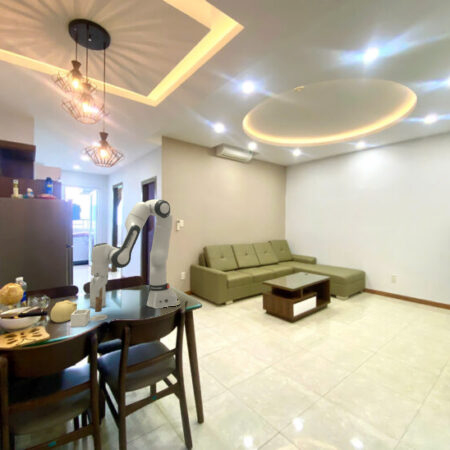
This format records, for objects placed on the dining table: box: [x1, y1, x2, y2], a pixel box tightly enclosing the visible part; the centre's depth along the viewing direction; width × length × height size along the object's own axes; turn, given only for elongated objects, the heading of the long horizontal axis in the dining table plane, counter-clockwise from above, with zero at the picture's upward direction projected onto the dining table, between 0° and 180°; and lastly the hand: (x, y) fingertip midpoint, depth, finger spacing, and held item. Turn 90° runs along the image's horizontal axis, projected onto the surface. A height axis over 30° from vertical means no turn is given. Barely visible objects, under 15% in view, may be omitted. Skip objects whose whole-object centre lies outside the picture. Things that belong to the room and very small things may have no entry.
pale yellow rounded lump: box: [50, 299, 78, 324], centre depth 135 cm, size 12×12×11 cm
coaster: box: [90, 314, 108, 322], centre depth 139 cm, size 9×9×1 cm
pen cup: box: [70, 309, 91, 328], centre depth 130 cm, size 7×7×7 cm
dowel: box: [94, 287, 103, 313], centre depth 138 cm, size 3×3×15 cm
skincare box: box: [89, 282, 107, 309], centre depth 158 cm, size 8×7×16 cm
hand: (99, 295), depth 138 cm, fingers closed on dowel, 3 cm apart
